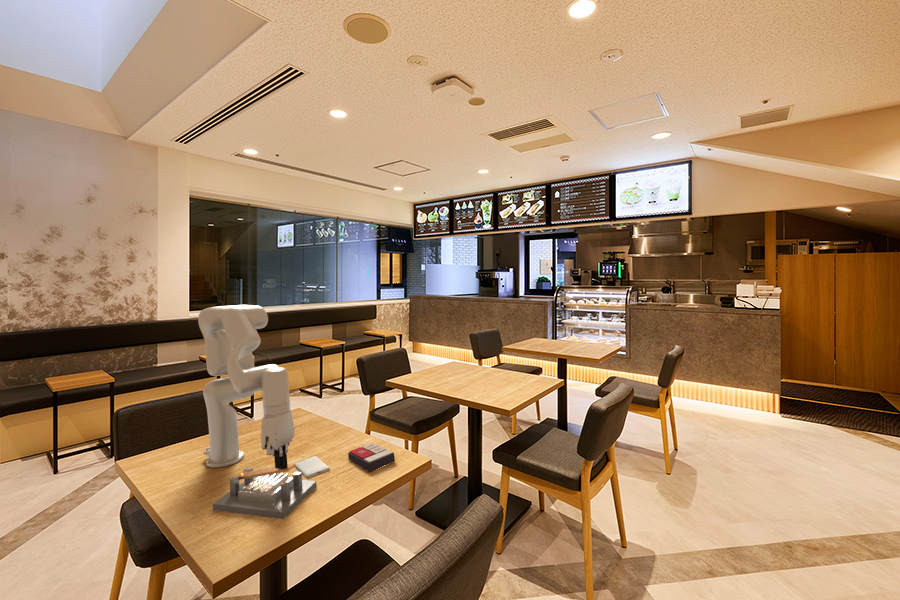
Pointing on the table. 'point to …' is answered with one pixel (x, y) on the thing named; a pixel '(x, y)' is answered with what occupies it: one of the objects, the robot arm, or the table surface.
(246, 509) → the grey mounting plate
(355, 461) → the calculator
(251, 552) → the table surface
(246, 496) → the heat sink
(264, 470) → the retention strap
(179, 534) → the table surface
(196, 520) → the table surface
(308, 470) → the hard drive
